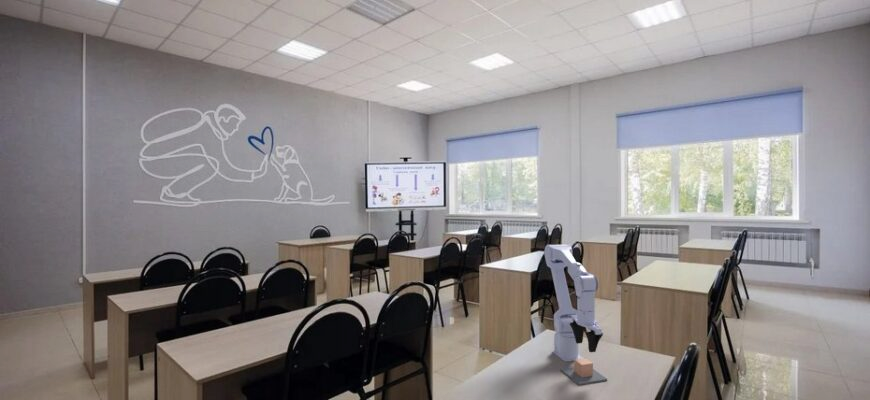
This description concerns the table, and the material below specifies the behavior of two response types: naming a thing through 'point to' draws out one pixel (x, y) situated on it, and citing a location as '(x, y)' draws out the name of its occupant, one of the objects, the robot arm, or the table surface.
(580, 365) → the cube
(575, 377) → the mat
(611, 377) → the table surface
